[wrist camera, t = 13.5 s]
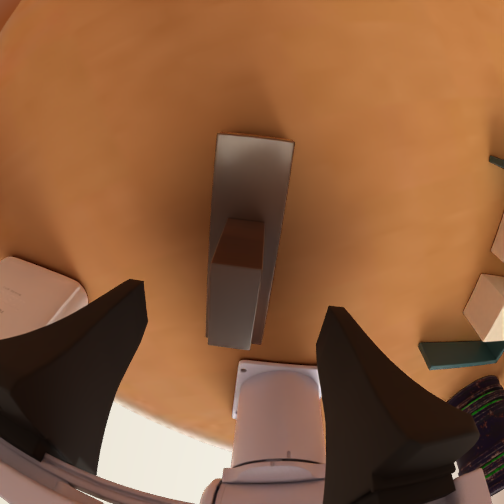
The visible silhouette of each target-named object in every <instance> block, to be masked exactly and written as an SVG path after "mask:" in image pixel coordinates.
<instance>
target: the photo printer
mask: <svg viewBox="0 0 504 504" xmlns="http://www.w3.org/2000/svg"><path fill="white" fill-rule="evenodd" d="M86 305H88V297H87V294H86V292H85V290H84V288H83V287H82V286H81V285H80V283H78V282H77V281H75V280H73V279H71V278H69V277H66V276H64V275H61V274H59V273H56V272H54V271H51V270H48V269H46V268H43V267H40V266H38V265H35V264H32V263H30V262H27V261H24V260H21V259H18V258H15V257H6V258H4V259H3V260H2V261H0V340H1V339H6V338H10V337H14V336H18V335H21V334H25V333H28V332H31V331H33V330H36V329H39V328H41V327H44V326H47V325H49V324H52V323H54V322H56V321H58V320H60V319H62V318H64V317H66V316H68V315H70V314H72V313H74V312H76V311H77V310H79V309H81V308H83V307H84V306H86Z"/></svg>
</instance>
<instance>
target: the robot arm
mask: <svg viewBox="0 0 504 504" xmlns="http://www.w3.org/2000/svg"><path fill="white" fill-rule="evenodd" d="M147 323H148V318H147V310H146V301H145V291H144V281H139V280H133V279H129V280H127V281H125V282H123V283H122V284H120V285H118V286H117V287H115V288H114V289H112V290H110V291H109V292H107V293H106V294H104V295H103V296H101V297H99V298H98V299H96V300H95V301H93V302H91V303H90V304H88V305H86V306H84V307H83V308H81V309H79V310H77V311H76V312H74V313H72V314H70V315H68V316H66V317H64V318H62V319H60V320H58V321H56V322H54V323H52V324H49V325H47V326H44V327H41V328H39V329H36V330H33V331H31V332H28V333H25V334H21V335H18V336H14V337H10V338H6V339H1V340H0V497H2V498H3V499H4V500H6V501H7V502H8V503H9V504H103V502H101V501H99V500H96V499H94V498H92V497H90V496H88V495H86V494H84V493H82V492H80V491H83V492H85V493H87V494H90V495H92V496H94V497H97V498H100V499H102V500H104V501H107V502H110V503H113V504H193V503H188V502H183V501H178V500H173V499H169V498H165V497H161V496H156V495H153V494H149V493H145V492H142V491H139V490H135V489H132V488H129V487H125V486H122V485H120V484H117V483H114V482H111V481H108V480H105V479H103V478H100V477H98V476H96V475H97V467H98V461H99V455H100V449H101V444H102V440H103V435H104V431H105V427H106V423H107V420H108V416H109V413H110V410H111V406H112V403H113V400H114V397H115V394H116V392H117V389H118V387H119V385H120V382H121V380H122V378H123V376H124V374H125V372H126V370H127V368H128V366H129V364H130V362H131V360H132V358H133V356H134V354H135V352H136V350H137V348H138V346H139V344H140V342H141V340H142V337H143V334H144V331H145V329H146V326H147ZM316 357H317V366H307V365H293V364H281V363H270V362H260V361H251V360H241V361H239V364H238V372H237V380H236V388H235V395H234V403H233V411H232V418H233V419H236V427H235V436H234V445H233V453H232V462H231V468H224V470H223V477H222V479H220V478H219V479H215V480H213V481H212V483H211V484H210V485H209V486H207V488H206V489H205V490H204V492H203V494H202V497H201V501H200V504H492V501H491V497H490V493H489V490H488V486H487V483H486V479H485V476H484V473H483V470H482V468H479V469H477V470H474V471H472V472H469V473H466V474H464V475H461V476H459V477H457V478H455V479H454V480H453V478H452V474H451V473H453V472H455V470H456V468H455V465H454V462H455V461H456V460H458V459H459V458H460V457H461V456H463V455H464V454H465V453H466V452H467V451H469V450H470V449H471V448H472V447H473V446H474V445H475V444H476V442H477V441H478V439H479V436H480V434H479V431H478V429H477V426H476V424H475V421H474V419H473V417H472V415H471V414H469V413H467V412H465V411H462V410H460V409H458V408H456V407H454V406H452V405H450V404H448V403H446V402H445V401H443V400H441V399H440V398H438V397H436V396H435V395H433V394H432V393H430V392H429V391H427V390H426V389H424V388H423V387H422V386H420V385H419V384H417V383H416V382H415V381H413V380H412V379H411V378H410V377H408V376H407V375H406V374H405V373H404V372H403V371H401V370H400V369H399V368H398V367H397V366H396V365H395V364H394V363H393V362H392V361H391V360H390V359H389V358H388V357H387V356H386V355H385V354H384V353H383V352H382V351H381V350H380V349H379V348H378V347H377V346H376V345H375V344H374V343H373V341H372V340H371V339H370V338H369V337H368V336H367V334H366V333H365V332H364V331H363V330H362V328H361V327H360V326H359V325H358V324H357V322H356V321H355V320H354V319H353V318H352V316H351V315H350V314H349V313H348V312H347V310H346V309H345V308H344V307H335V306H329V307H328V310H327V313H326V316H325V319H324V322H323V325H322V328H321V331H320V334H319V337H318V340H317V343H316ZM321 396H322V400H323V406H324V412H325V422H326V455H325V444H324V434H323V424H322V414H321V405H320V398H321ZM75 488H76V489H78V490H80V491H78V490H76V489H75Z"/></svg>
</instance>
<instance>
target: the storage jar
mask: <svg viewBox="0 0 504 504" xmlns="http://www.w3.org/2000/svg"><path fill="white" fill-rule="evenodd" d="M447 403H448V404H450V405H452V406H454V407H456V408H458V409H460V410H462V411H465V412H467V413H469V414H471V415H472V417H473V419H474V421H475V424H476V426H477V429H478V431H479V434H480V436H479V439H478V441H477V442H476V444H475V445H474V446H473V447H472V448H471V449H470V450H469V451H467V452H466V453H465V454H464V455H463V456H461V457H460V458H459V459H458V460H456V462H457V465H458V468H459V473H458V475H459V476H461V475H464V474H466V473H469V472H472V471H474V470H477V469H479V468H482V470H483V473H484V476H485V479H486V483H487V486H488V490H489V493H490V497H491V496H493V495H494V494H496V493H498V492H499V491H501V490H503V489H504V390H503V387H502V386H501V385H500V384H499V380H498V378H497V377H496V376H486V377H483V378H481V379H479V380H477V381H475V382H473V383H471V384H470V385H468V386H467V387H465V388H464V389H462V390H461V391H460V392H458V393H457V394H456V395H455V396H453V397H452V398H451V399H450V400H449V401H448V402H447Z"/></svg>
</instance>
